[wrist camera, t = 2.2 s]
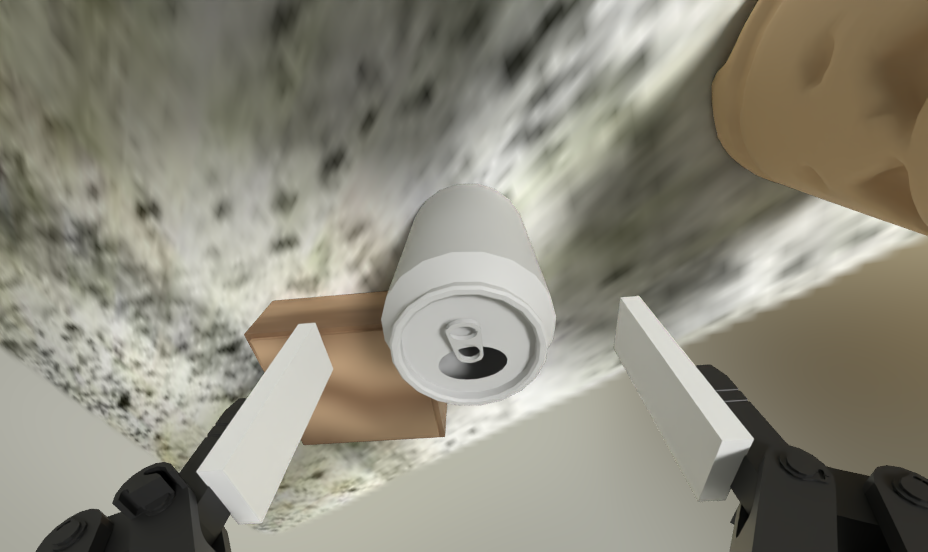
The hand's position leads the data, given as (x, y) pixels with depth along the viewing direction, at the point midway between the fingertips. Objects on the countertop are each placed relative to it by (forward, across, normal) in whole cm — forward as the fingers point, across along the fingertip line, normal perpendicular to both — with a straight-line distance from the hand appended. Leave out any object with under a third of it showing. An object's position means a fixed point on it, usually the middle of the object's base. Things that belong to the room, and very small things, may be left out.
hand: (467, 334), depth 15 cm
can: (+10, 0, +1) cm, 10 cm away
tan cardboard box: (+10, -9, -9) cm, 17 cm away
